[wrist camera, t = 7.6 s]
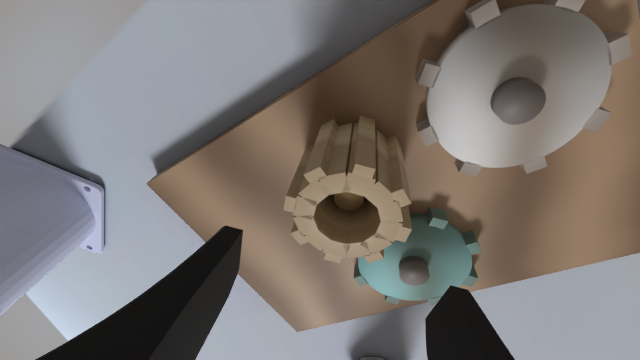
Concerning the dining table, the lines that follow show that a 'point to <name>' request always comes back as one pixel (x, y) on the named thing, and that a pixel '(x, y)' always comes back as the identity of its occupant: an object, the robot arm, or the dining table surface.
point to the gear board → (444, 156)
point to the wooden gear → (354, 177)
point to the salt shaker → (371, 358)
